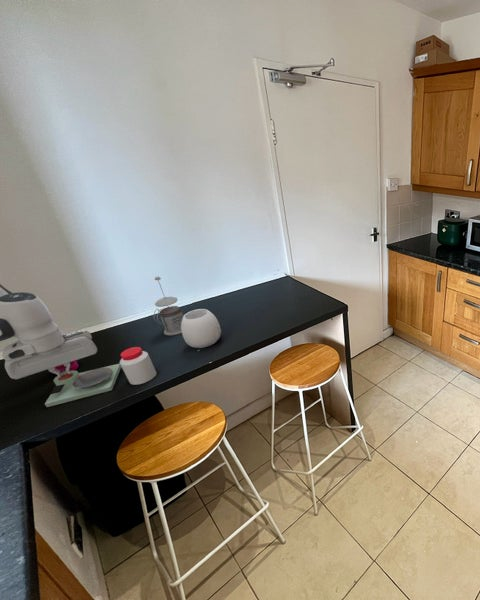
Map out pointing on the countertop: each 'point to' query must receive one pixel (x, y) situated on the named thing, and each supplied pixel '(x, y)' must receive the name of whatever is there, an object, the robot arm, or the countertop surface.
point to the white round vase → (200, 328)
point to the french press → (169, 326)
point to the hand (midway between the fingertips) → (65, 374)
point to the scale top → (88, 379)
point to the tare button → (66, 377)
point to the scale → (74, 393)
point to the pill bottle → (137, 366)
